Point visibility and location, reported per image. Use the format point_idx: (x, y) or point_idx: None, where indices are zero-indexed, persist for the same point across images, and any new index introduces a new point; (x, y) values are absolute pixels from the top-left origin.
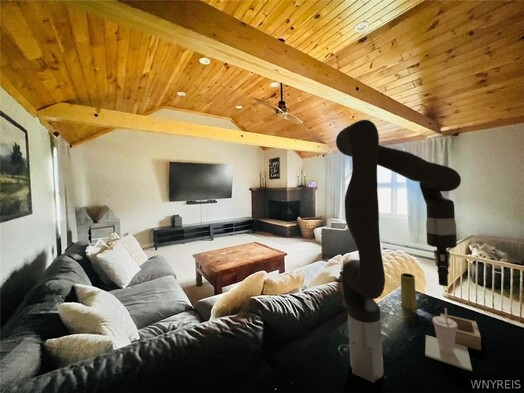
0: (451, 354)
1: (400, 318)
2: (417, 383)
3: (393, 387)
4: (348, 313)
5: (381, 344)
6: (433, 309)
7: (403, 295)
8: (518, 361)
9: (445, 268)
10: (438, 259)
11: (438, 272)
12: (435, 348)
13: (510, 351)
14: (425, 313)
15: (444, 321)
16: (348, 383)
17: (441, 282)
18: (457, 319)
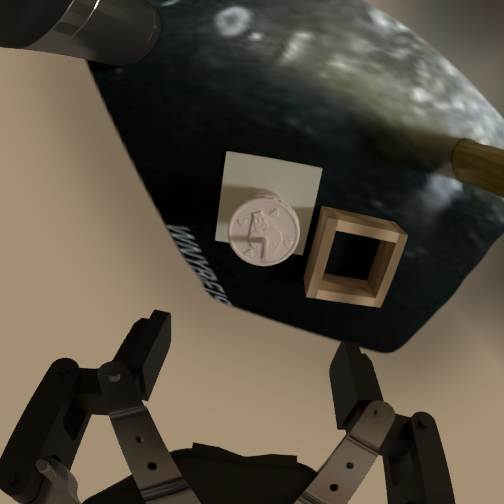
0: None
1: (396, 115)
2: (127, 129)
3: (99, 89)
4: None
5: (78, 56)
6: (461, 224)
7: (483, 149)
8: (289, 325)
9: (337, 410)
10: (11, 448)
11: (54, 363)
12: (264, 180)
13: (319, 324)
14: (441, 197)
15: (260, 233)
16: None
17: (134, 329)
18: (385, 270)
